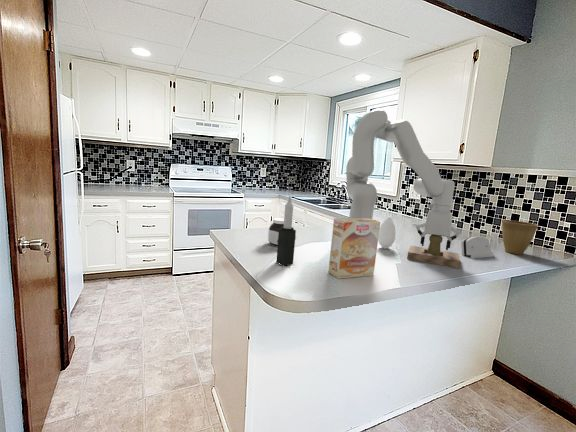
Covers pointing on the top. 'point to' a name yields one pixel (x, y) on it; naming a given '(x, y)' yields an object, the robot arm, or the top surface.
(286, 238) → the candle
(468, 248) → the grey piece
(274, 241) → the spread jar
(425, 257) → the tan flat frame
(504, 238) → the plant pot
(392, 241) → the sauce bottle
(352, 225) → the coffeecake box
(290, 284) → the top surface
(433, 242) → the cork
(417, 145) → the robot arm
